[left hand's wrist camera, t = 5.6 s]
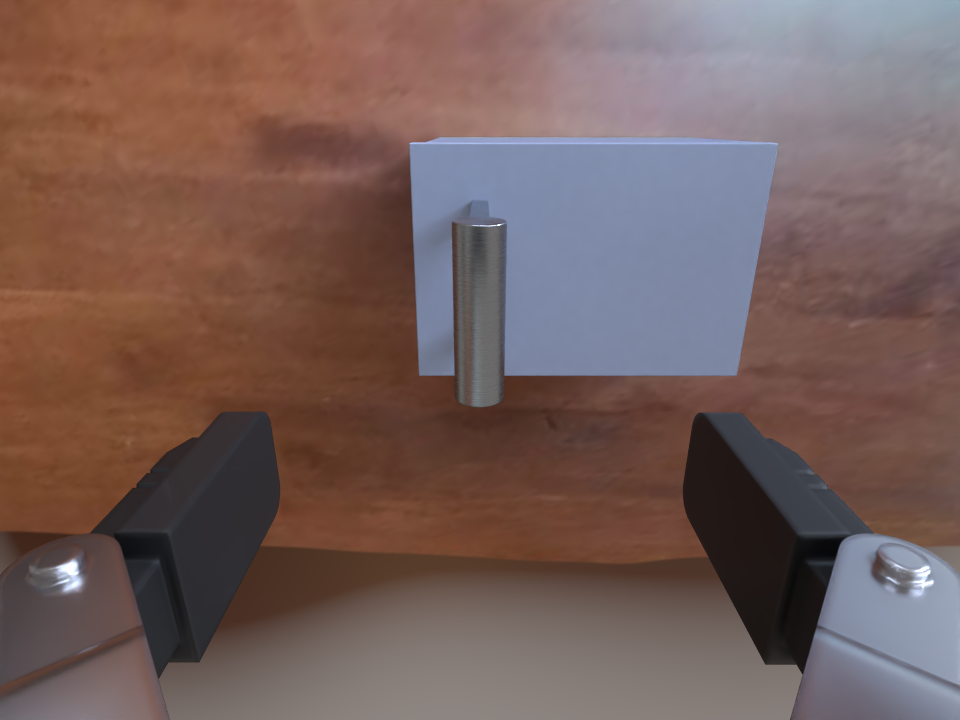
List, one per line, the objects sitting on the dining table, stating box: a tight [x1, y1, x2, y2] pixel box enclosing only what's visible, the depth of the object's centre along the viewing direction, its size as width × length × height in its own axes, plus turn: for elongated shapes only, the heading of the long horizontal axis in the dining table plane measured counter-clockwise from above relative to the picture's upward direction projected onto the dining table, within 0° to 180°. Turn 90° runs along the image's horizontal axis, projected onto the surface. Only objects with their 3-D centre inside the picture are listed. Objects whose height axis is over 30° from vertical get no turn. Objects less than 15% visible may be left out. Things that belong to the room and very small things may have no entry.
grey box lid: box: [409, 142, 778, 407], centre depth 23 cm, size 15×10×8 cm
